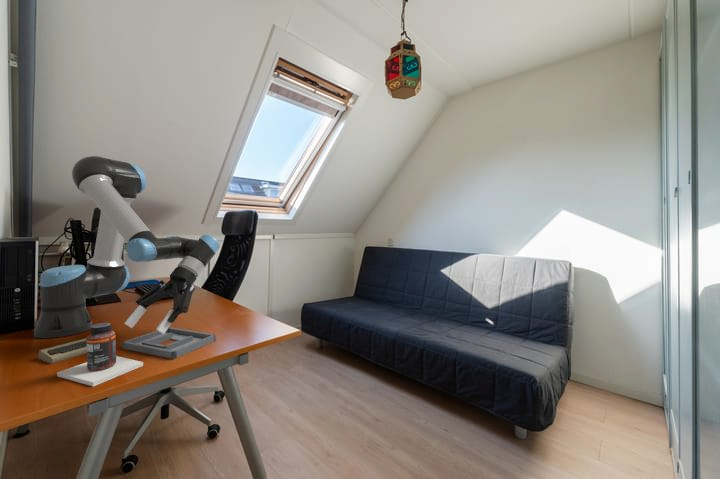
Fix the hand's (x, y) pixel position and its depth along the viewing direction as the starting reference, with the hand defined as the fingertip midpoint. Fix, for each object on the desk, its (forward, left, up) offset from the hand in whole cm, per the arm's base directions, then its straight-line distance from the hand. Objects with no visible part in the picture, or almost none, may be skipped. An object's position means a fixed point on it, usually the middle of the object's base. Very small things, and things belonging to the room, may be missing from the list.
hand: (143, 328), depth 91 cm
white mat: (0, -11, -8) cm, 14 cm away
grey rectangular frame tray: (0, +9, -8) cm, 12 cm away
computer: (-20, -5, -9) cm, 23 cm away
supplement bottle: (0, -11, -7) cm, 13 cm away
